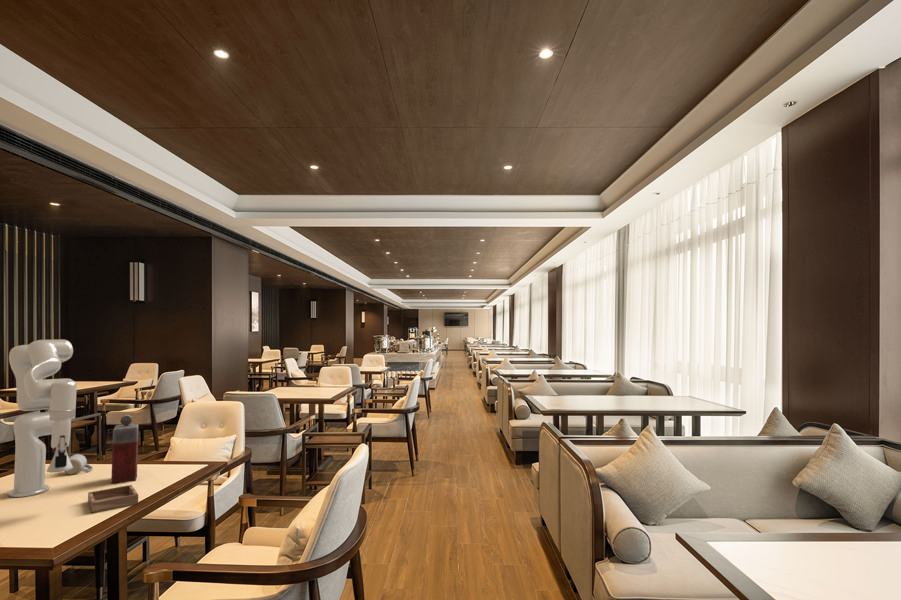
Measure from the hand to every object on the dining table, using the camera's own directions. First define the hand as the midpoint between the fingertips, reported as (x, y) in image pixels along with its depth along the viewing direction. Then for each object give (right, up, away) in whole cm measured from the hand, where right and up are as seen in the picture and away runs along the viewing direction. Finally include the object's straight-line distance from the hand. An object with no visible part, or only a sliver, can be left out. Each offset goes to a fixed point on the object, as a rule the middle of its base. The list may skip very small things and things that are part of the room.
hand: (60, 464), depth 179 cm
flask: (0, -2, 0) cm, 2 cm away
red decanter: (-2, -19, +38) cm, 42 cm away
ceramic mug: (-31, -20, +49) cm, 61 cm away
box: (+14, -17, +8) cm, 23 cm away
